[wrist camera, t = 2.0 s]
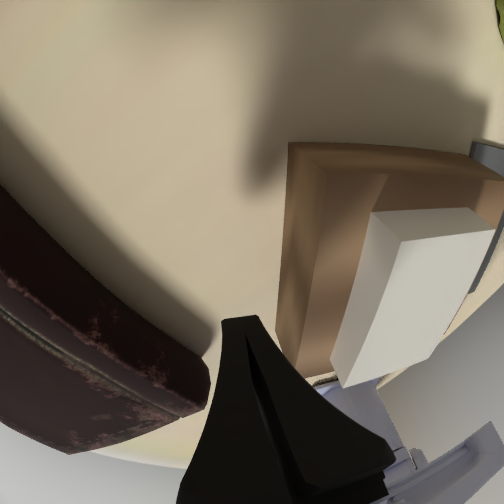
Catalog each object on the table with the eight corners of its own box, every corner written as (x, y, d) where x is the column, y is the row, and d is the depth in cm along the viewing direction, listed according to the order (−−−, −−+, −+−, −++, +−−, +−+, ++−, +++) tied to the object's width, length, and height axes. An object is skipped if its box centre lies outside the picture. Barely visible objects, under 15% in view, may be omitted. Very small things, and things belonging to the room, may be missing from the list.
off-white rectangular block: (412, 335, 16) (427, 358, 15) (329, 359, 15) (342, 388, 14) (467, 207, 11) (495, 229, 10) (370, 212, 10) (401, 241, 9)
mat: (472, 289, 23) (474, 291, 23) (417, 306, 22) (419, 309, 22) (522, 154, 15) (524, 156, 15) (473, 141, 14) (476, 143, 14)
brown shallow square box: (417, 299, 21) (444, 334, 18) (275, 330, 19) (292, 380, 16) (466, 155, 14) (512, 182, 11) (288, 142, 12) (327, 173, 9)
